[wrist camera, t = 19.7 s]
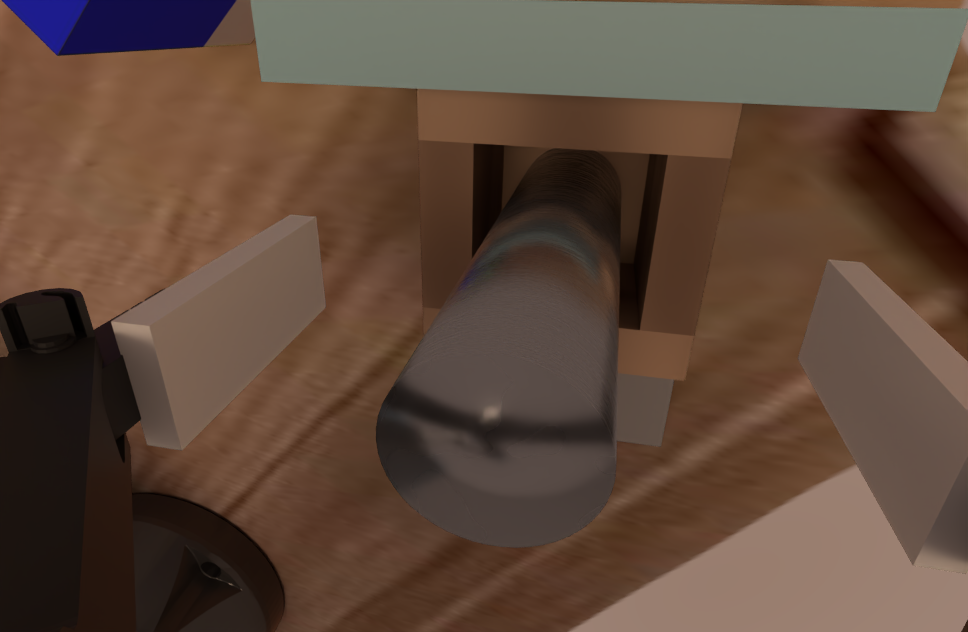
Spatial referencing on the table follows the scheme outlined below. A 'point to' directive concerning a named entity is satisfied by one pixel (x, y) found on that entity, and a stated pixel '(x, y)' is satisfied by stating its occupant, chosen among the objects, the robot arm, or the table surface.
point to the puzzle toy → (135, 24)
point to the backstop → (619, 67)
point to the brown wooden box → (644, 197)
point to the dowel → (519, 369)
